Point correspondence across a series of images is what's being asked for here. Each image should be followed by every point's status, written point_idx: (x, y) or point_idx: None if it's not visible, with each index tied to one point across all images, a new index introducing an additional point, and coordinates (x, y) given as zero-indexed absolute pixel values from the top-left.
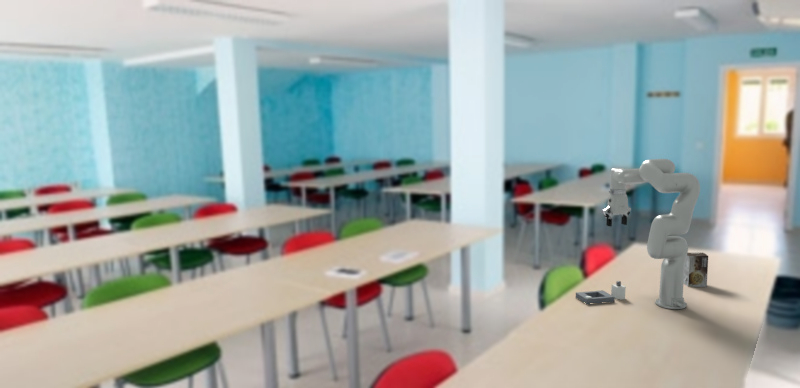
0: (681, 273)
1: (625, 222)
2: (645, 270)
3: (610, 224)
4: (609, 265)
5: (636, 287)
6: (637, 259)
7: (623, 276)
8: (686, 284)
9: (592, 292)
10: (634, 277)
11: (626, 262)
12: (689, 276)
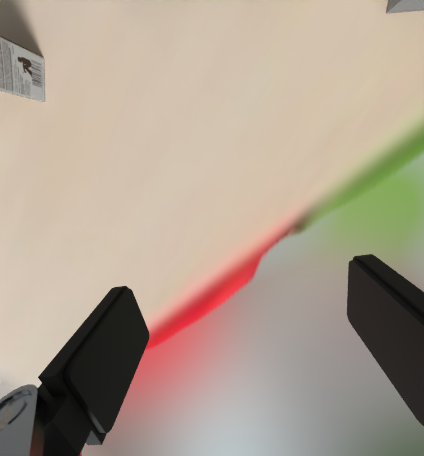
0: None
1: (116, 307)
2: (103, 244)
3: (388, 272)
4: (173, 301)
5: (210, 89)
6: None
7: (187, 208)
8: (41, 71)
9: None
10: (162, 192)
11: None
12: (6, 39)
